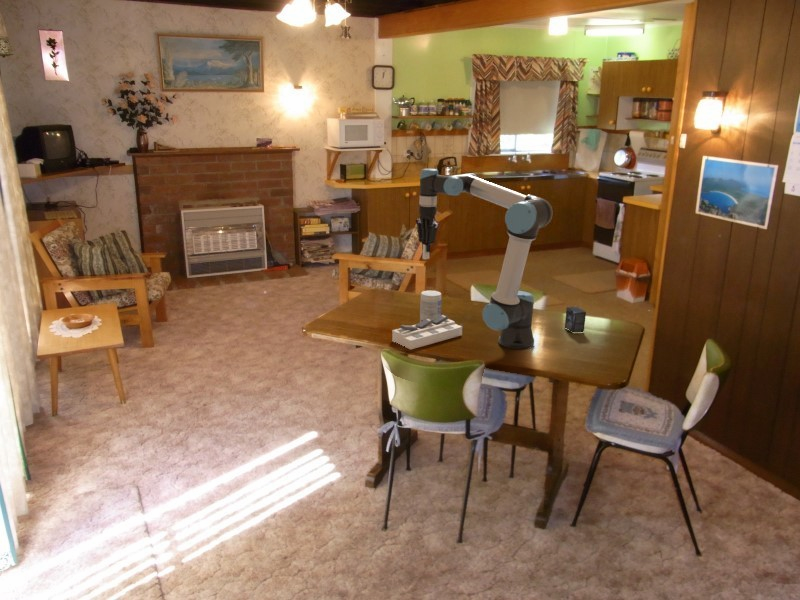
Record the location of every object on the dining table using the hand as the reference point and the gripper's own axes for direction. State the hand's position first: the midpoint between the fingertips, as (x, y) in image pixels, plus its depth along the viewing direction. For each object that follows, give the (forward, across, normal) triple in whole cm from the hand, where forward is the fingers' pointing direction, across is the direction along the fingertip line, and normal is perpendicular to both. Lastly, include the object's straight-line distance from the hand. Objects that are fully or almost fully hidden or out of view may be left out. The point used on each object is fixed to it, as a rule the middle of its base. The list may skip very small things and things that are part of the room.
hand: (425, 258), depth 304 cm
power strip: (+32, -11, +4) cm, 34 cm away
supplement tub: (+33, +3, -7) cm, 33 cm away
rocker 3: (+27, -8, -2) cm, 28 cm away
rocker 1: (+27, -8, +16) cm, 32 cm away
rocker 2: (+27, -8, +7) cm, 29 cm away
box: (+33, -43, -54) cm, 76 cm away
